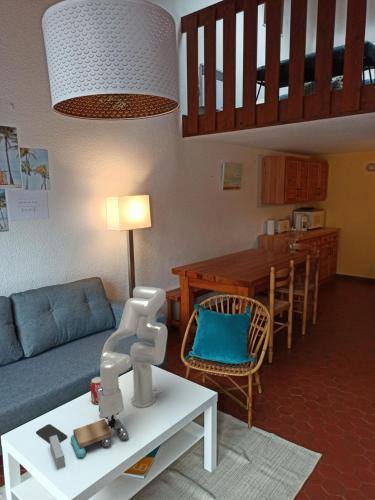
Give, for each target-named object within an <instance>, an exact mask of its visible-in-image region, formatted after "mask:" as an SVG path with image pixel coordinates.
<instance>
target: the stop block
mask: <svg viewBox="0 0 375 500" xmlns="http://www.w3.org/2000/svg"><path fill="white" fill-rule="evenodd" d="M49 438H50V444H49V448H50V451H51V453H52V457H53V460H54V463H55V466H56V470H59V469H62V468H65V467H66V460H65V453H64V451H63V448H62V446H61V443H60V442H59V440H58V437H57V435H55V436H52V437H49Z"/></svg>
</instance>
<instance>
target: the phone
mask: <svg viewBox="0 0 375 500" xmlns="http://www.w3.org/2000/svg"><path fill="white" fill-rule="evenodd" d="M35 434H36V435H37V436H38V437H40V438H41V439H42V440H44V441H45V442H47V443H48V444H49V445H50V438H49V437H52V436H55V435H57V437H58V440H59V442H60V444H61V443H62V442H64V441H66V440H67V439H68V435H67V434H65V433H64V432H62V431H61V430H60V429H58V428H57V427H55V426H54V425H52V424H50V423H48V424H45V425H44V426H43V427H41V428H40V429H38V430H36V431H35Z"/></svg>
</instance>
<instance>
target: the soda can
mask: <svg viewBox="0 0 375 500" xmlns="http://www.w3.org/2000/svg"><path fill="white" fill-rule="evenodd" d="M100 388H101V377H100V376H95V377H93V378H92V379H91V382H90V396H91V397H90V398H91V402H92V403H93V404H95V405H97V404H98V405H99V396H100V393H98V389H100Z"/></svg>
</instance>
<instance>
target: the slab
mask: <svg viewBox="0 0 375 500" xmlns="http://www.w3.org/2000/svg"><path fill="white" fill-rule="evenodd" d="M106 420H107V419H106V418H103V419H100V420H98V421H97V420H96V421H94V422H92V423H91V422H90V423H89V424H86V425H83V426H80V427H78V428H74V429H72V432H73V434H74V436H75V439H76V441H77V443H78V446H79V448H82V447H84V448H85V447H87V446H90V445H92V444H94V443H97V442H99V441H100V442H101V440H103V439H105V438H108V437H109V438H110V437H112V436H113V431H112V429H111V427H110V426H108V421H106ZM73 434H72V435H73Z"/></svg>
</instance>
